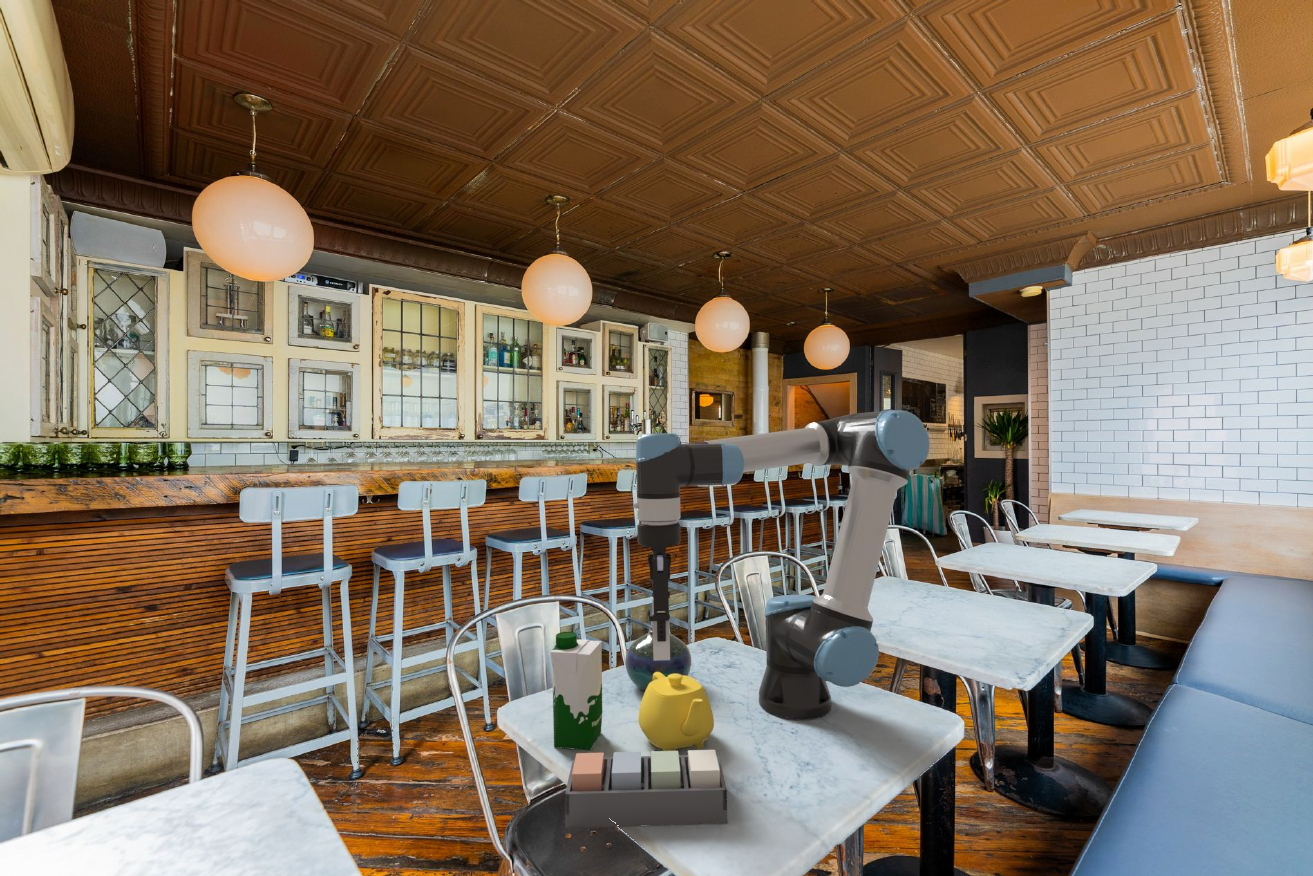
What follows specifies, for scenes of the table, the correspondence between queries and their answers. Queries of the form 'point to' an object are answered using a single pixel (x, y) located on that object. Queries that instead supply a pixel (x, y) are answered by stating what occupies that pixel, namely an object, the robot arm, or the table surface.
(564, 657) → the milk carton
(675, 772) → the key
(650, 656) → the vase
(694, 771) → the key
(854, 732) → the table surface
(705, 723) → the teapot
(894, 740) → the table surface
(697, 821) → the keypad base
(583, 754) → the key
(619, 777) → the key
